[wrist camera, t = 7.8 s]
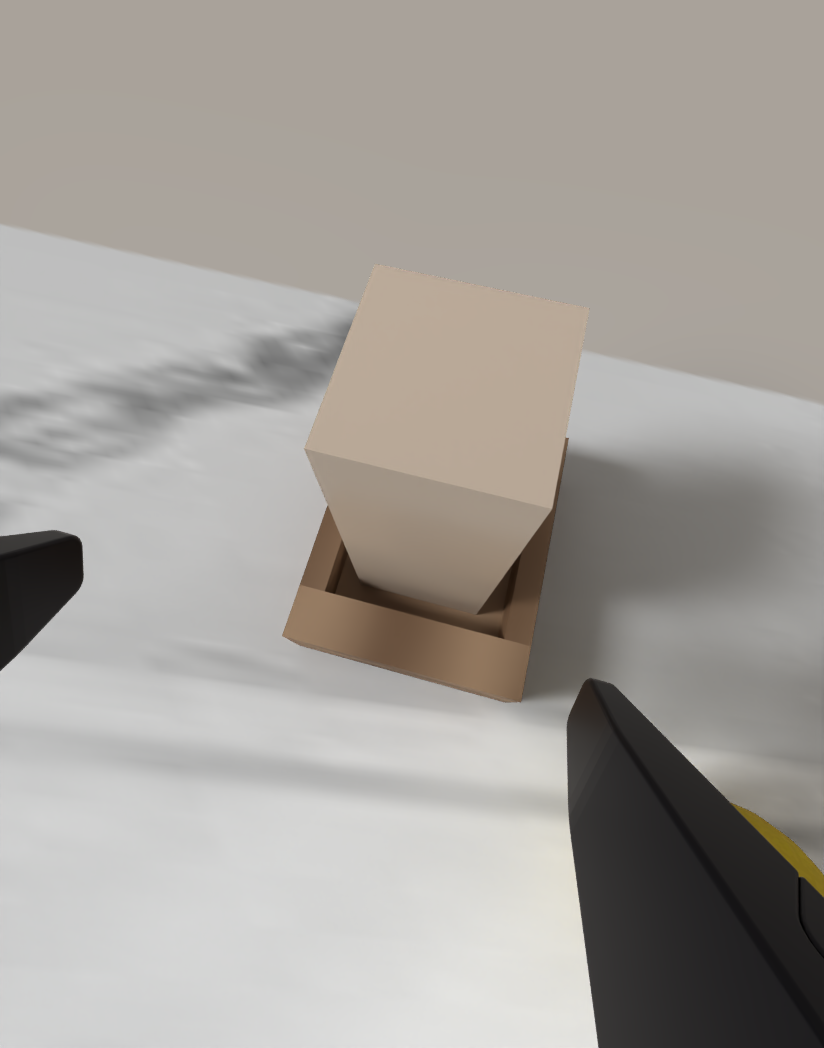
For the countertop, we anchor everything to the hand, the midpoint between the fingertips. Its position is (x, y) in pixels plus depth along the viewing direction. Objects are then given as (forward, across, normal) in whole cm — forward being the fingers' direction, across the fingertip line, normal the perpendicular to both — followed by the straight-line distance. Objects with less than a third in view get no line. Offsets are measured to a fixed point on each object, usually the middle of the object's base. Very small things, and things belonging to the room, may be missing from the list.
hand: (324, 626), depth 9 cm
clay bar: (+13, -1, +4) cm, 14 cm away
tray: (+14, -2, +5) cm, 15 cm away
